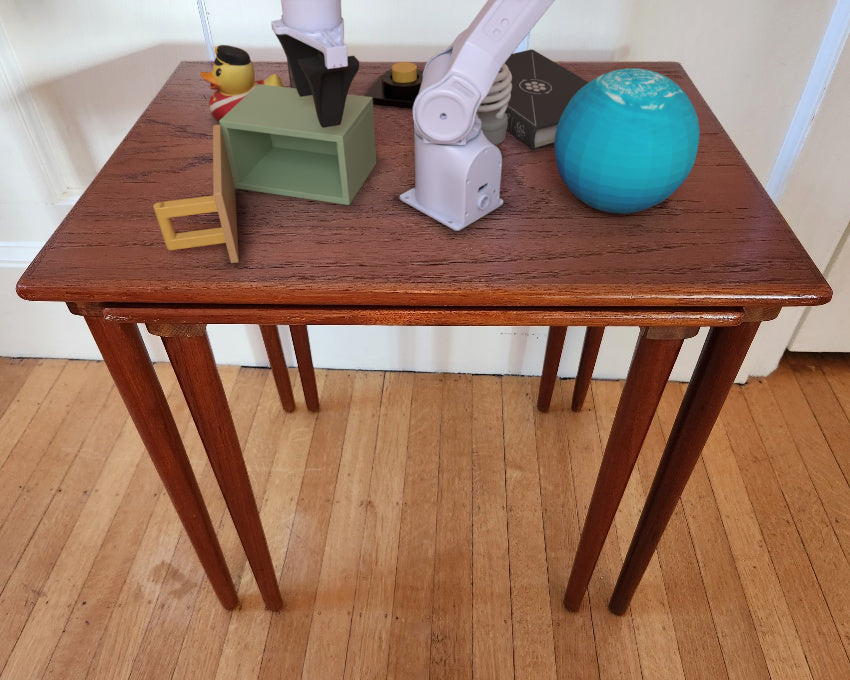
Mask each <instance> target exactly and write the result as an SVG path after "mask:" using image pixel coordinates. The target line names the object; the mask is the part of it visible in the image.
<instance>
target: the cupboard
mask: <svg viewBox="0 0 850 680" xmlns="http://www.w3.org/2000/svg"><path fill="white" fill-rule="evenodd" d="M374 116H375V115H374V104H373V98H372V97H367V96H365V95H357V94H348V93H347V97H346V102H345V107H344V112H343V117H342V121H341V124H340V125H337V126H331V127H325V128H322V127H321V125H320V123H319V120H318V117H317V113H316V109H315V104H314V99H313V95H310V96H303V97H300V96H299V94H298V92H297V89H296V88H291V87H287V86H284V87H279V86H270V85H261V84H258V85H257V86H256V87H255V88H254V89H253V90H252V91H251V92H250V93H249V94H247V95H246V96H245V97H244V98H243V99H242V100H241V101H240V102H239V103H238V104H237V105H236V106H235V107H234V108H232V109H231V110H230V111H229V112H228V113H227V114H226V115H225V116H224V117H223V118H222V119H221V120H220V121H219V122H220V123H219V122H218V123H219V125H220V126H221V130H222V134H223V139H224V143H225V147H226V152H227V156H228V160H229V165H230V169H231V173H232V178H233V182H234V186H235V190H236V189H237V190H242V191H251V192H258V193H265V194H270V195H278V196H284V197H291V198H297V199H305V200H311V201H319V202H323V203H325V202H326V203H332V204H338V205H345V206H350V205H351V204H352V202H353V201H354V199H355V197H356V196H357V194H358V193H359V191H360V189H361V188H362V186H363V185H364V183H365V182H366V181H367V179H368V177H369V176H370V174H371V173H372V171H373V169H374V168H375V166H376V165H377V163H378V162H377V161H378V160H377V148H376V147H377V146H376V132H375V117H374Z"/></svg>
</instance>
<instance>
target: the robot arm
mask: <svg viewBox="0 0 850 680" xmlns="http://www.w3.org/2000/svg"><path fill="white" fill-rule="evenodd" d="M555 1H556V0H487V1H486V2H485V4H484V5H483V6H482V7H481V9H480V10H479V12H478V13H477V15H476V16H475V17H474V18H473V20H472V21H471V23H470V24H469V26H468V27H466V29H464V30H463V31H462V32H460V33H458V35H457V36H456V38H455V39H454V40H453V42H452V43H450V45H449V46H447V47H446V48H445V49H443V50H440V51H438V52H436V53H435V54H434V55H432V56H431V57H430V58H429V59H428V61H427V62H426V64H425V66H424V67H423V70H422V71H423V80H422V83H421V87H420V90H419V94H418V95H417V97H416V99H415V102H414V105H413V109H412V120H413V141H414V142H413V143H414V146H413V147H414V187H413V188H411V189H408V190H407V191H405V192H402V193H401V194H400V195H399V200H400V201H401V202H403V203H405V204H406V205H408V206H411V207H412V208H413V209H416V210H417V211H419V212H421V213H423V214H425V215H426V216H428V217H429V218H432V219H433V220H435V221H437V222H438V223H441V224H442V225H444V226H446V227H448V228H449V229H451V230H453V231H457V232H458V231H461V230H463V229H464V228H466V227H468V226H469V225H472V224H474V223H475V222H476V221H478V220H480V219H481V218H483V217H484V216H486V215H488V214H490V213H491V212H493V211H495V210H497V209H498V208H500V207H502V206H503V205H504V200H503V198H500V195H501V181H502V170H503V156H502V152H501V150H500V148H499V147H497V145H493V144H492V143H491V142H490V141H489V140H488V139H487V138H486V137H485V135H484V134H483V132H482V129H481V120H480V119H479V118H478V115H477V110H478V107H479V106H480V104H481V103H482V101H483V100H484V99H485V98H486V96H487V95H488V93H489V91H490V89H491V87H492V85H493V83H494V81H495V79H496V77H497V75H498V73H499V71H500V69H501V67H502V66H503V64H504V63H505V62H506V61H507V59H508V58H509V57H510V56H511V54H514V53H515V51H516V49H517V48H518V47H519V46H520V44H521V43H522V42H523V41H524V40H525V38H526V37H527V36H528V35H529V33H530V32H531V31H532V29H533V28H534V27H535V26H536V25H537V23H538V22H539V21H540V19H541V18H542V17H543V16H544V14H545V13H546V12H547V11H548V10H549V8H550V7H551V6H552V5H553V4H554V2H555ZM280 2H281V12H282V13H281V19H275V20H271V22H270V23H271V24H270V26H271V31H273V33H274V35H275V37H276V38H277V39H278V41H279V44H280V46H281V48H282V49H283V52H284V54H285V58H286V61H287V60H288V63H289V66H290V69H291V73H292V76H293V80H294V83H295V86H296V89H297V92H298V94H299V96H300V97H303V96H310V95H313V99H314V104H315V109H316V113H317V117H318V120H319V123H320V125H321V127H322V128H325V127H331V126H337V125H340V124H341V121H342V117H343V112H344V107H345V102H346V97H347V94H348V93H349V89H350V87H351V85H352V83H353V80H354V79H355V77H356V75H357V73H358V71H359V69H360V60H359V59H358V58H357V57H356V56H355V55H348V46H347V44H346V42H345V20H344V18H343V15H342V0H280ZM288 63H287V64H288Z"/></svg>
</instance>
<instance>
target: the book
mask: <svg viewBox="0 0 850 680" xmlns="http://www.w3.org/2000/svg"><path fill="white" fill-rule="evenodd" d="M505 64H506V65H507V66H508V69H509V71H510V72H511V75H512V81H511V84H512V89H511V92H510V93H511V97H510V100H509V102H508V106H507V108H506V111H505V113H506V114H507V116H508V126H507V131H506V132H508V133H510V134H511V136H513V137H515V138H516V139H517V140H518V141H520V142H521V143H523V144H524V145H525V146H526V147H528V148H529V149H531V150H535V149H540V148H543V147H546V146H550V145H553V144H554V142H555V133H556V129H557V125H558V123H559V120H560V118H561V116H562V114H563V112H564V110H565V108H566V107H567V105H568V103H569V102H570V100H571V99H572V97H573V96H574V95H575V94H576V93H577V92H578V91H579V90H580V89H581V88H582V87H584V86H585V85H586V84H587V83H589V82H590V81H588V80H586V79H584V78H582V77H581V76H579V75H577V74H576V73H574V72H572V71H570V70H568V69H567V68H566V67H564V66H562V65H560V64H559V63H557V62H555V61H553V60H552V59H550V58H548V57H546V56H544V55H543V54H541V53H539V52H538V51H536V50H534V49H528V50H527V49H526V50H523V51H522V50H521V51H519V52H513V53H512V54H511V56H510V57H509V58H508V59H507V61H506V62H505ZM499 73H501V71H499ZM498 82H500V83H501V82H502V81H498ZM498 92H502V91H498ZM487 96H488V95H487ZM498 102H500V101H495V102H491V103H481V104H480V106H484V105H492V104H496V103H498ZM499 109H501V108H499Z"/></svg>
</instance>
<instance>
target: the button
mask: <svg viewBox="0 0 850 680" xmlns="http://www.w3.org/2000/svg"><path fill="white" fill-rule="evenodd" d="M391 69H392V80H393V81H395V82H400V83H407V82H413V81H415V80H417V69H418V66H417V65H416V64H415V63H413V62H408V61H401V62H396V63H394V64H392V66H391Z"/></svg>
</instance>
